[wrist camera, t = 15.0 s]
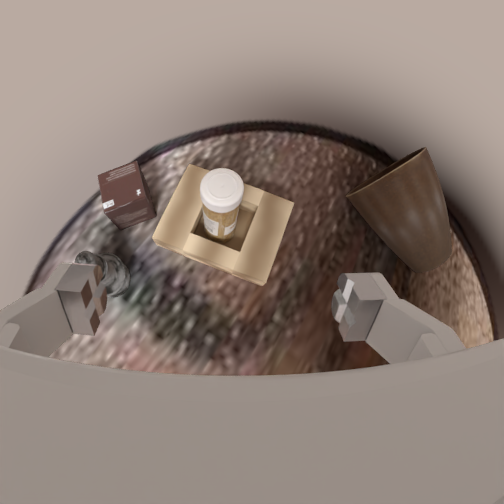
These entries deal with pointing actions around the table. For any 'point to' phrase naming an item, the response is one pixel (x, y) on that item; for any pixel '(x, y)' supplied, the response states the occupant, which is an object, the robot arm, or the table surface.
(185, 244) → the holder
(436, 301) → the table surface
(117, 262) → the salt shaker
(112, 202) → the box
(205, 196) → the sprinkles bottle
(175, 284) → the table surface
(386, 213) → the plant pot
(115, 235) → the table surface
